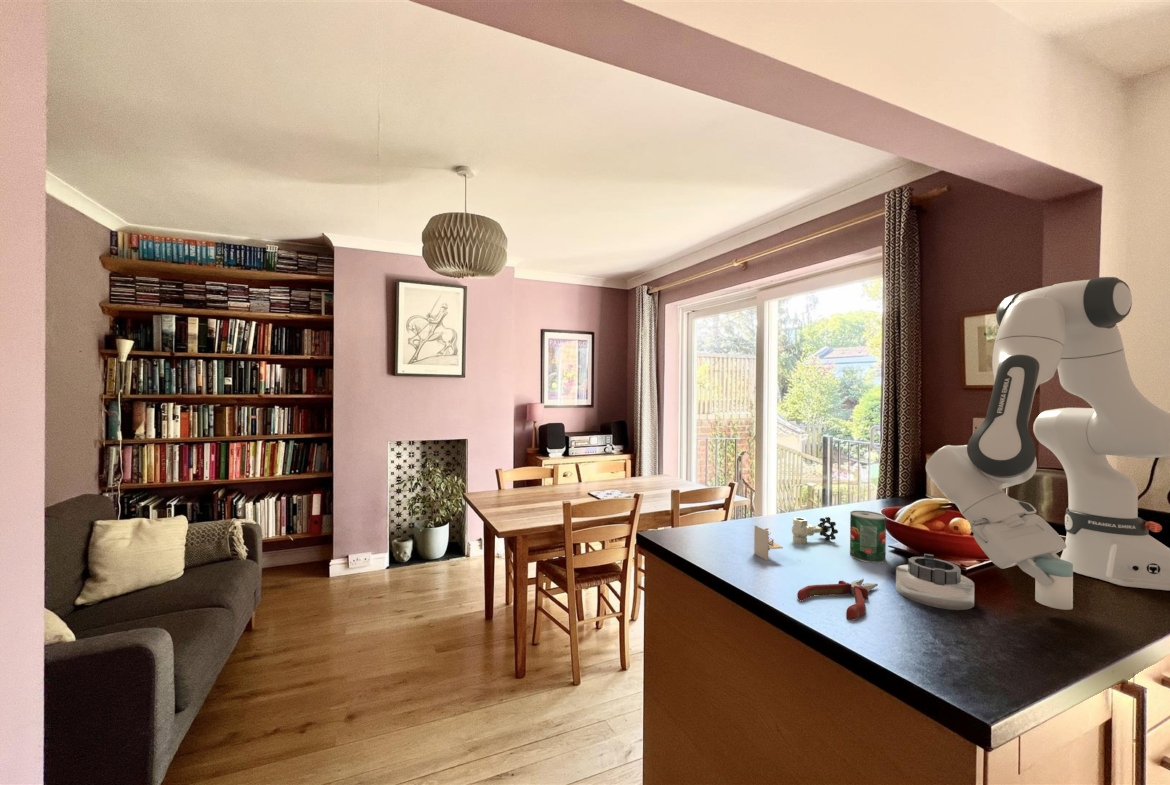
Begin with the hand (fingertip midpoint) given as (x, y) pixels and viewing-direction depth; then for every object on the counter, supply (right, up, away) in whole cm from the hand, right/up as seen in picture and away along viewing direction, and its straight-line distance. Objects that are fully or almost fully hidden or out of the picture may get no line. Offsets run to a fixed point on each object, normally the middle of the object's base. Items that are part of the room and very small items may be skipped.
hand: (1058, 581), depth 87 cm
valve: (-25, -7, +44) cm, 51 cm away
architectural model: (-43, -7, +31) cm, 54 cm away
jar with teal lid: (0, -4, +1) cm, 4 cm away
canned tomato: (-17, -7, +32) cm, 36 cm away
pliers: (-35, -7, +6) cm, 36 cm away
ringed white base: (-16, -7, +10) cm, 20 cm away
